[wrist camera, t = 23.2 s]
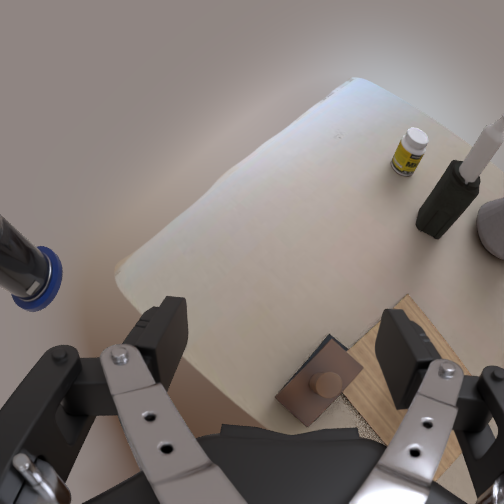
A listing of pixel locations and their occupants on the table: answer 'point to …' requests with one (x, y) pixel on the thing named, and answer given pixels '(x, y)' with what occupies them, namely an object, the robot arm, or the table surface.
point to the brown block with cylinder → (319, 383)
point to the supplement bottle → (409, 151)
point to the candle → (459, 184)
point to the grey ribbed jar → (492, 227)
